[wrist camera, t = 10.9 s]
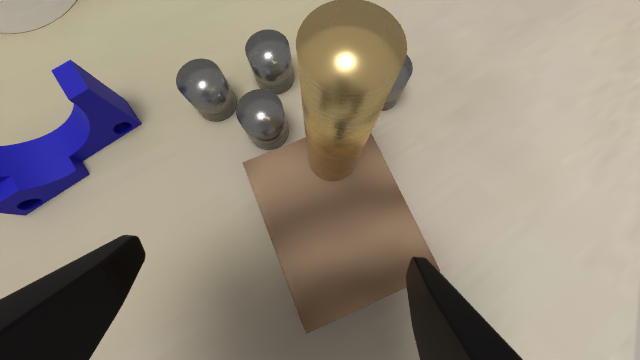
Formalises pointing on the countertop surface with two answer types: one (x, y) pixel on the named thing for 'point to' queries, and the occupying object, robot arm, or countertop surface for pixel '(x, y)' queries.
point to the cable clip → (63, 143)
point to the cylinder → (30, 14)
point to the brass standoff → (345, 79)
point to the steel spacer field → (262, 104)
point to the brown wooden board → (335, 231)
